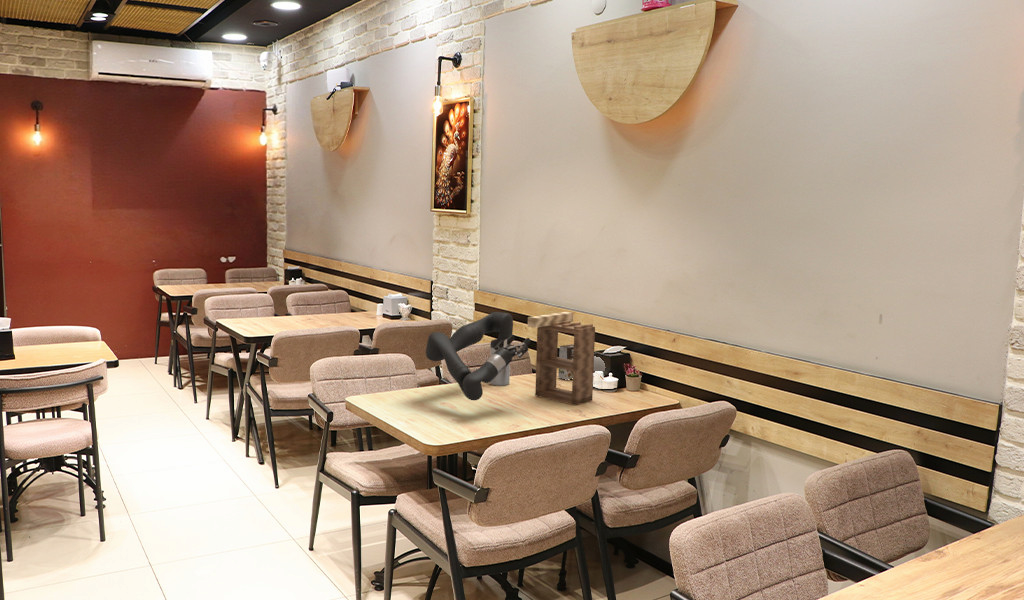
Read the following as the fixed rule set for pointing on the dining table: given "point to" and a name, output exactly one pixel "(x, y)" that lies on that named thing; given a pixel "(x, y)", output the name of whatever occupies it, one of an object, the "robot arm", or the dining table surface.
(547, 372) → the walnut shelf
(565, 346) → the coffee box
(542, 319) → the beech bar
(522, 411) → the dining table surface
